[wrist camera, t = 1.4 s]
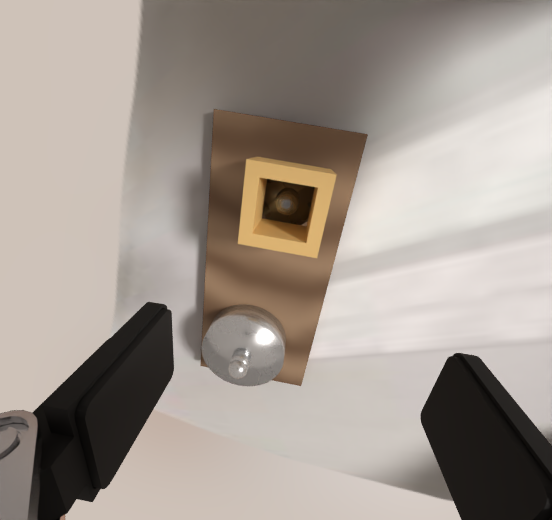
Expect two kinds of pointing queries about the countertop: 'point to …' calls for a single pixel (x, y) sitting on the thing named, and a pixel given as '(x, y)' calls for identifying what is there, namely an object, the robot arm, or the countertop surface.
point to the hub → (245, 345)
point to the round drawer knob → (287, 202)
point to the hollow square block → (276, 232)
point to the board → (227, 211)
